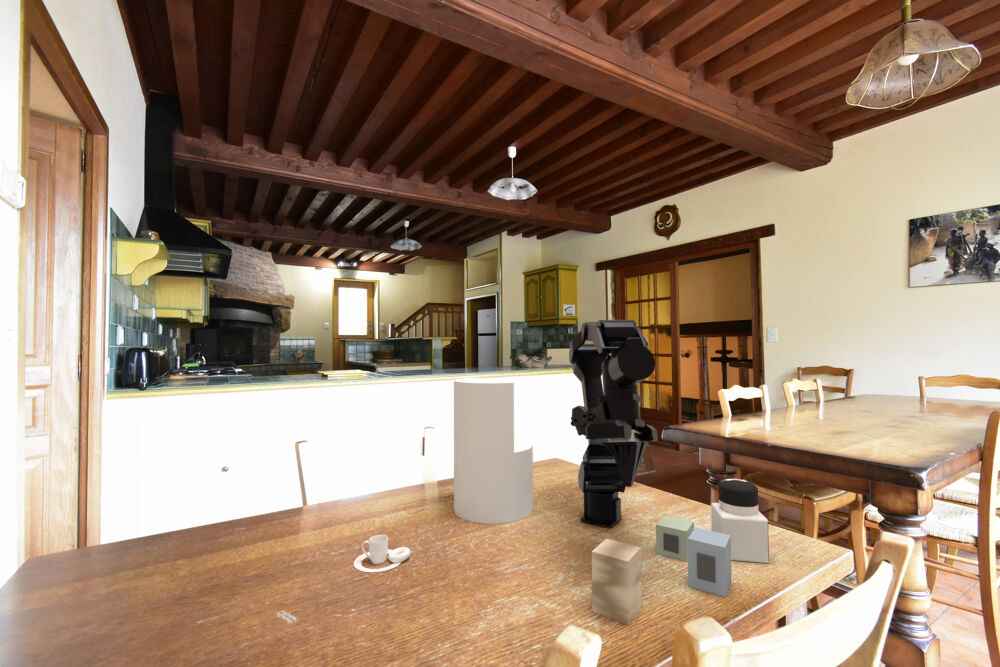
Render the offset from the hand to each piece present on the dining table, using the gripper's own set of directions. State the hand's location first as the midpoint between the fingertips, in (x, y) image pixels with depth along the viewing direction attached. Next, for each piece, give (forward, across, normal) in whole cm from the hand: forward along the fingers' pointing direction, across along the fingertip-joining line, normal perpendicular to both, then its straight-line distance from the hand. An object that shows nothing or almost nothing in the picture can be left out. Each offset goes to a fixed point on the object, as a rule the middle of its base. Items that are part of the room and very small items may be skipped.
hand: (628, 486), depth 73 cm
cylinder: (+6, -11, -34) cm, 37 cm away
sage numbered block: (+11, -12, +3) cm, 17 cm away
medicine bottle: (+12, -18, +12) cm, 24 cm away
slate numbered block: (+14, -4, +10) cm, 17 cm away
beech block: (+15, +10, 0) cm, 18 cm away
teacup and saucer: (+13, +19, -34) cm, 41 cm away
